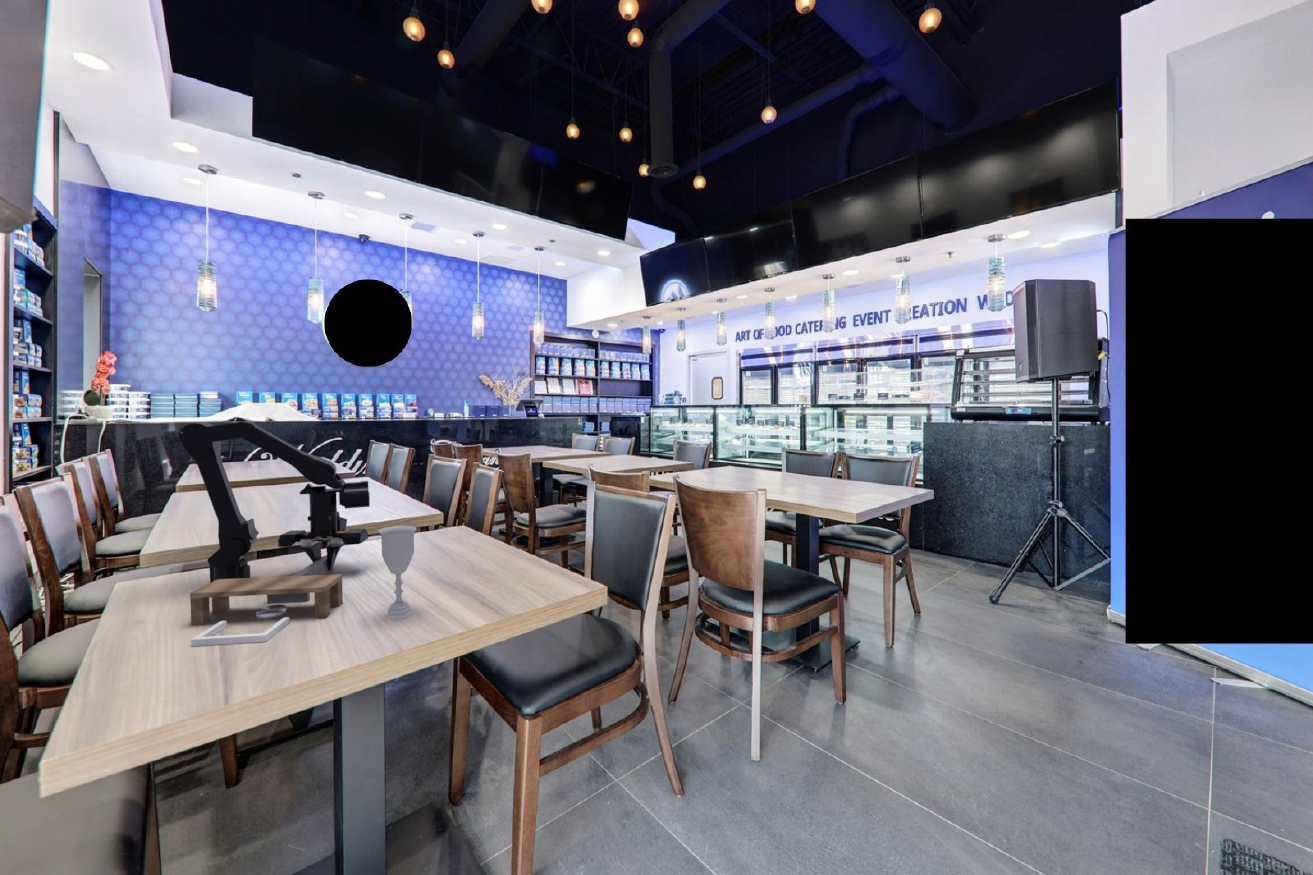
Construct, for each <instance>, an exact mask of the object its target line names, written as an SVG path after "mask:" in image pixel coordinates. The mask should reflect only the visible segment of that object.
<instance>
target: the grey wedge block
mask: <svg viewBox="0 0 1313 875" xmlns="http://www.w3.org/2000/svg"><path fill="white" fill-rule="evenodd" d="M333 573H334V567H333V568H332V570H331V571H329V570H328V566H327V555H323V556H322V557H321V558H320V559H318V560H317V561H315V562H314V563H313V562H312V563H310V564H309V565H307V566H306V567H304V568H303V569H301V570H299V571H298V572H296V573H295V574H293V575H292V576H311V575H333ZM310 595H311V593H293V594H271V595H266V601H267V602H266V604H281V603H282V604H284V603H285V604H286V603H298V602H299V603H300V602H309V601H310V600H311V596H310Z"/></svg>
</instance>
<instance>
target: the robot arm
mask: <svg viewBox="0 0 1313 875" xmlns="http://www.w3.org/2000/svg"><path fill="white" fill-rule="evenodd" d="M177 438H178V441H179V442H180V444H181V446H182V447H183V449H184V450H185V452H186V453H187V455H188V456H189V457H190V458H191V459H192V461H193V462H194V463H196V465H197V468H198V469H199V473H200V475H201V478H202V481H203V483H204V486H205V489H206V492H207V494H208V497H209V500H210V502H211V505H212V507H213V510H214V513H215V516H216V518H217V523H218V525H217V526H218V529H217V530H218V531H217V533H218V534H217V537H218V546H219V548H218V549H217V550H216V551H215V552H214V553H213V554H211V555H210V557H209V558H207V560H206V561H207V563H208V564H209V566H208V567H209V583H211V582H213V581H215V580H217V579H237V578H251V565H250V564H248V563H249V562H248V558H244V557H245V556H246V555H247V553H249V552H250V551H251V549H252V548H253V547H254V545H255V544H256V542H257V539H258V538H257V536H258V535H259V534H260V532H259V531H258V530H257V528H256V526H255V519H254V518H250V519H246V518H245V517H244V516H243V515H242V513H241V511H240V509H239V505H238V502H237V499H236V497H235V494H234V491H233V489H232V488H233V487H231V486H232V485H231V483H230V480H229V478H228V475H227V472H226V470H225V467H224V464H223V462H222V442H223V441H229V440H235V439H244V440H245V441H247V442H249V443H251V444H253V445H255V446H257V447H258V448H260V449H262V450H264V451H265V452H267V453H269V454H271V455H273V456H274V457H276V458H278V459H280V460H282V461H283V462H286V463H287V464H288V465H291V466H292V467H293V468H294V469H296V470H297V471H298V472H299V474H301V475H302V476H303V477H305V478H306V480H308V481H310V482H311V483H312V484H314V486H313V485H312V484H311V483H309V482H308V483H307V484H306V485H305V487H303V488H302V489H301V490H300V491H299V495H308V496H309V516H307V521H308V522H309V525H310V526H309V528H310V530H309V532H308V533H307V532H306V530H305V529H300V530H289V531H286V532H284V533H282V534H280V535H279V536H278V538H277V547H278V548H283V547H284V548H287V547H293V546H294V545H295V544H296V543H300V546H299V550H303V551H304V553H305V554H306V555H307V556H308V557H309V559H310V560H311V562H312V563H314V562H315V561H317V560H318V559H320V558H321V557H323V556H322V545H323V542H330V544H329V545H327V546H326V556H327V566H328V570H329V571H331V570H332V568H333V569H334V564H335V562H336V559H337V558H338V554H339V552H340V550H341V548H342V547H344V546H345V545H346V546H349V545H361V544H362V543H363V542H365V541H366V540H368V539H369V532H368V530H367V529H366V528H350V529H348V530H347V524H348V519H347V518H344V517H340V511H338V506H337V505H338V504H337V503H339V505H340V506H342V507H344V509H357V508H369V507H370V503H371V502H370V501H371V500H370V495H371V494H370V491H369V480H362V481H356V482H355V481H353V482H346V481H345V480H344V478H342V477H341V476H340V475H339V474H338V473H337V467H336V464H334V463H333V461H330V460H328V459H326V458H323V457H321V456H317V455H314V454H311V453H307V452H305V451H302V450H300V449H299V448H298V447H296V446H294V445H292V444H291V443H289V442H287V441H285V440H283V439H282V438H280V437H279V436H276V435H275V434H272V433H271V432H269V431H267V430H266V429H264V428H262V427H260V426H259V425H257V423H255V422H254V421H251V420H242V421H239V422H233V423H226V424H225V423H223V424H217V425H214V424H211V423H209V422H204V421H203V422H192V423H188V424H186V425H185V426H183V427H182V428H181V429H180V430H179V432H178V434H177ZM221 441H222V442H221ZM315 485H316V486H315ZM327 487H329V488H327ZM337 493H339V494H338V502H337ZM346 530H347V531H346Z"/></svg>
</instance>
